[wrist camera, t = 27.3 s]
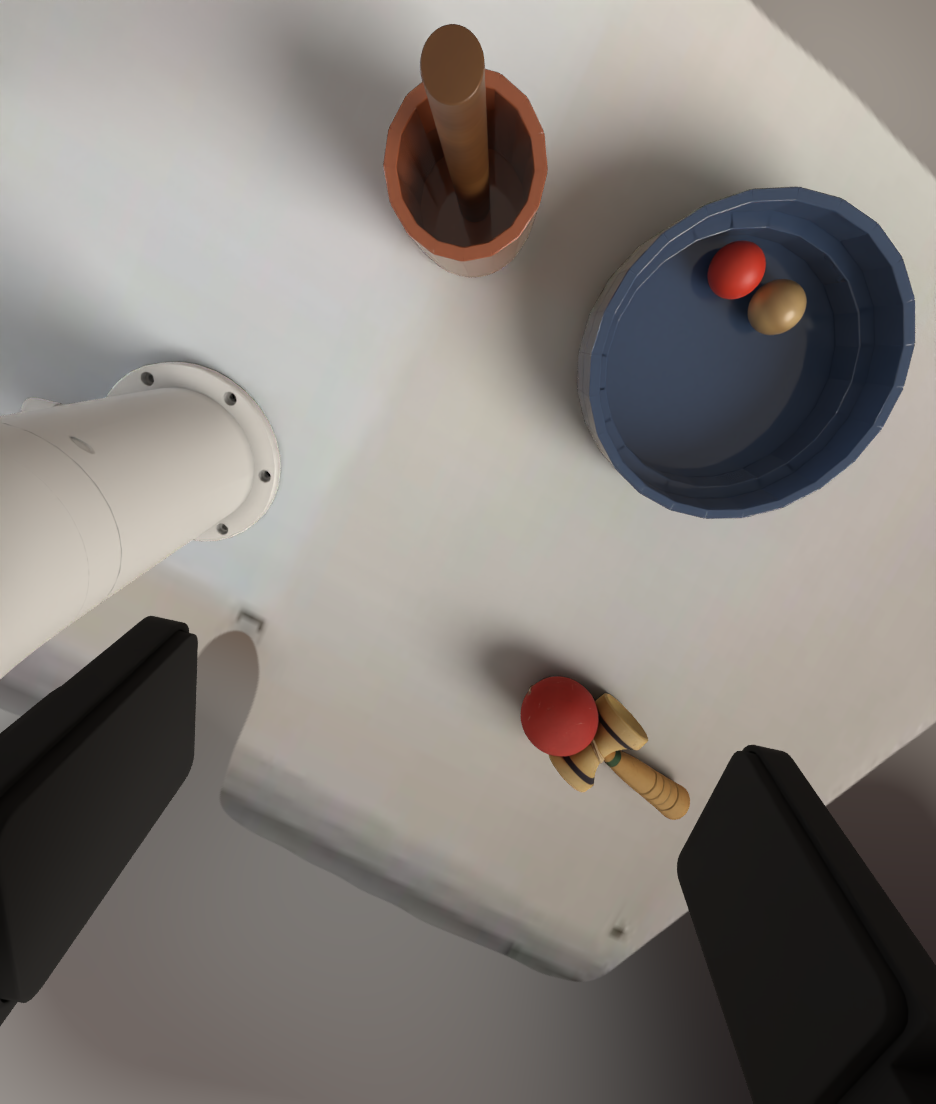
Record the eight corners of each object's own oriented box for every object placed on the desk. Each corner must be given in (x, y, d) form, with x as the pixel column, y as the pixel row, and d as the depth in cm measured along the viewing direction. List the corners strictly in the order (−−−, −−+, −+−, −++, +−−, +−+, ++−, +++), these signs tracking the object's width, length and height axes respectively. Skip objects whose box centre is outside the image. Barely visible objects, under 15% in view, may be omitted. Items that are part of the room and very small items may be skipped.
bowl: (544, 461, 38) (552, 482, 33) (628, 176, 31) (653, 146, 26) (777, 518, 39) (820, 546, 33) (906, 251, 32) (983, 236, 27)
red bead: (768, 256, 28) (727, 224, 29) (725, 308, 30) (688, 276, 31) (785, 264, 31) (746, 234, 32) (743, 312, 32) (708, 282, 33)
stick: (456, 218, 32) (414, 95, 15) (463, 182, 31) (426, 14, 15) (486, 225, 32) (476, 112, 15) (493, 190, 31) (491, 32, 15)
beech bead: (787, 257, 30) (740, 288, 33) (780, 297, 29) (732, 326, 32) (821, 288, 31) (772, 316, 34) (815, 327, 30) (765, 353, 33)
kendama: (704, 748, 48) (569, 643, 42) (727, 817, 43) (577, 709, 37) (633, 780, 52) (499, 688, 45) (647, 848, 47) (497, 755, 40)
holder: (403, 261, 33) (372, 238, 25) (425, 122, 31) (399, 45, 22) (515, 290, 34) (522, 277, 25) (548, 154, 31) (567, 90, 23)
